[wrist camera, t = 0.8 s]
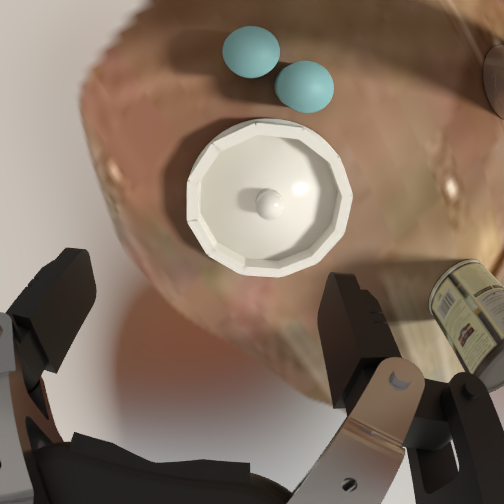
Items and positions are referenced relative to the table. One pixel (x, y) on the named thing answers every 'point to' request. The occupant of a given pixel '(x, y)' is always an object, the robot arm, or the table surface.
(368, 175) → the table surface
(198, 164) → the ring tray
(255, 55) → the bead
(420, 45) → the table surface
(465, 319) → the coffee can
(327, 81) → the bead
